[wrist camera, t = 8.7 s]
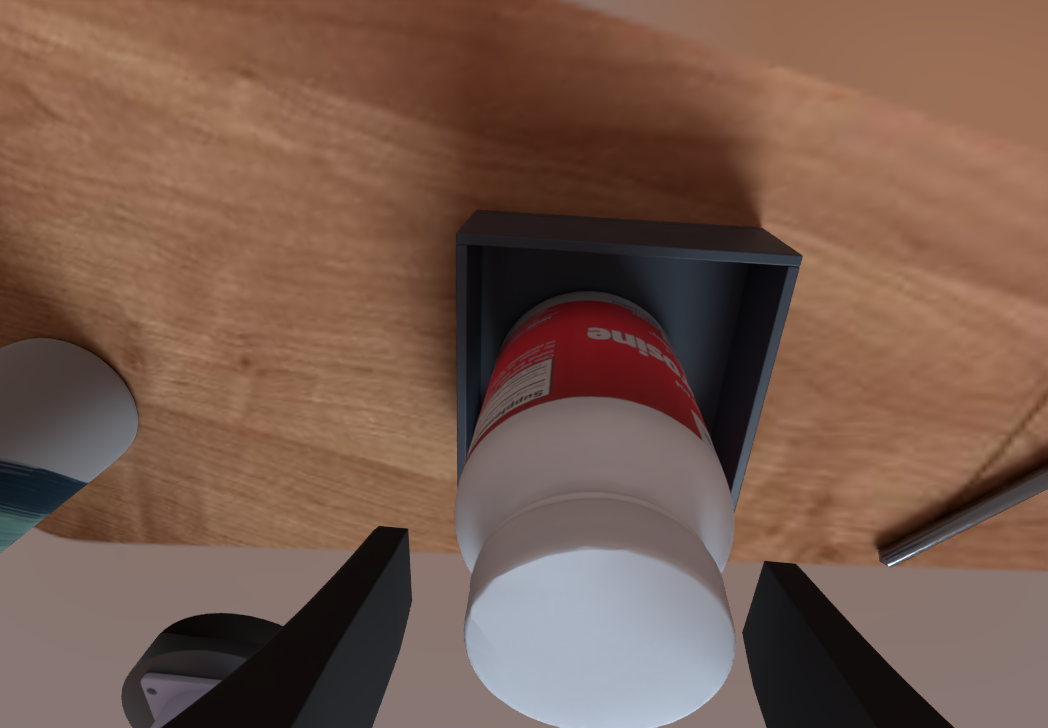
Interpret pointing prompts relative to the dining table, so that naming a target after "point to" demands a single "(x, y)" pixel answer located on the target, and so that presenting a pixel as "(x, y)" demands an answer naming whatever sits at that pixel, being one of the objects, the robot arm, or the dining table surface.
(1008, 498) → the rod
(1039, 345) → the dining table surface
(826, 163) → the dining table surface
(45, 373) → the black capped bottle
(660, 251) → the box
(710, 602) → the pill bottle
